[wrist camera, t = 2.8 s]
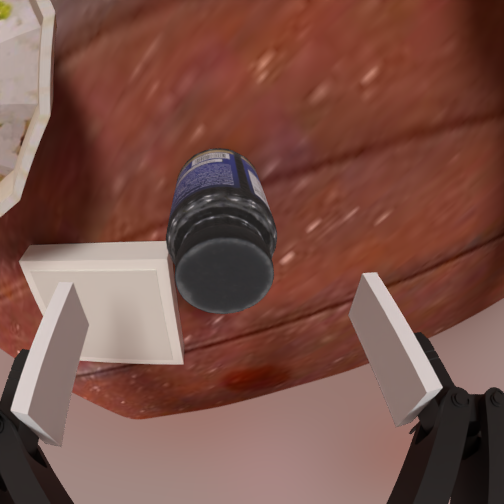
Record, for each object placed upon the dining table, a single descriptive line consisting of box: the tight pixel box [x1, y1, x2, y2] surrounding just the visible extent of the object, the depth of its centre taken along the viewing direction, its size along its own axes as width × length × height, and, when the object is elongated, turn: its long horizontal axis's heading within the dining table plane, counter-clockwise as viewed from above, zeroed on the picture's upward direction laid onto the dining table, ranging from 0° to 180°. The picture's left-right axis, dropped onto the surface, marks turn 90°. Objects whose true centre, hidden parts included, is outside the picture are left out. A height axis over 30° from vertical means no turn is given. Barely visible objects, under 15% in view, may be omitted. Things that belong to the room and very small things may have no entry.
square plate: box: [19, 241, 184, 364], centre depth 28 cm, size 14×14×3 cm
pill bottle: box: [166, 148, 277, 314], centre depth 19 cm, size 6×6×11 cm
